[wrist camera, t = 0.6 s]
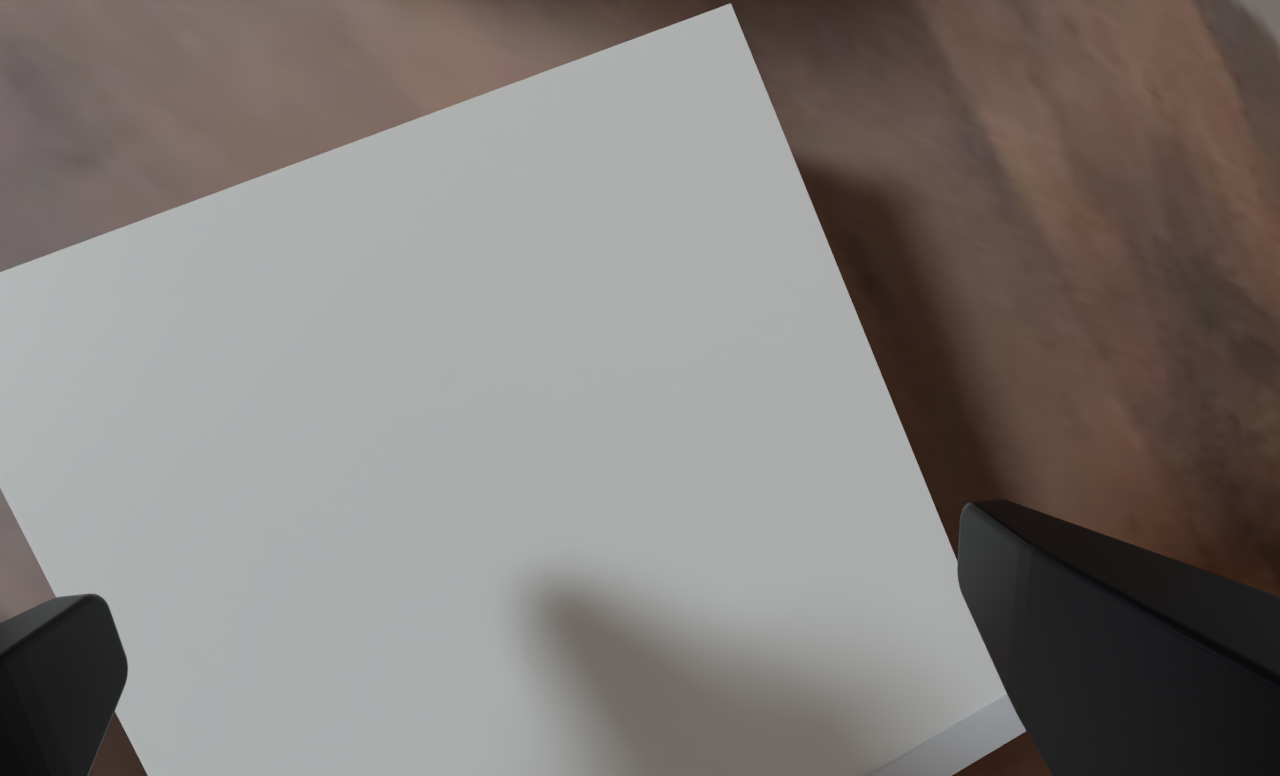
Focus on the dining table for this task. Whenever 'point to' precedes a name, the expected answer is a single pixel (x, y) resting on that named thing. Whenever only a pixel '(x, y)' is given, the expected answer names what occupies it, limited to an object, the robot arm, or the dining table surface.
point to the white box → (499, 455)
